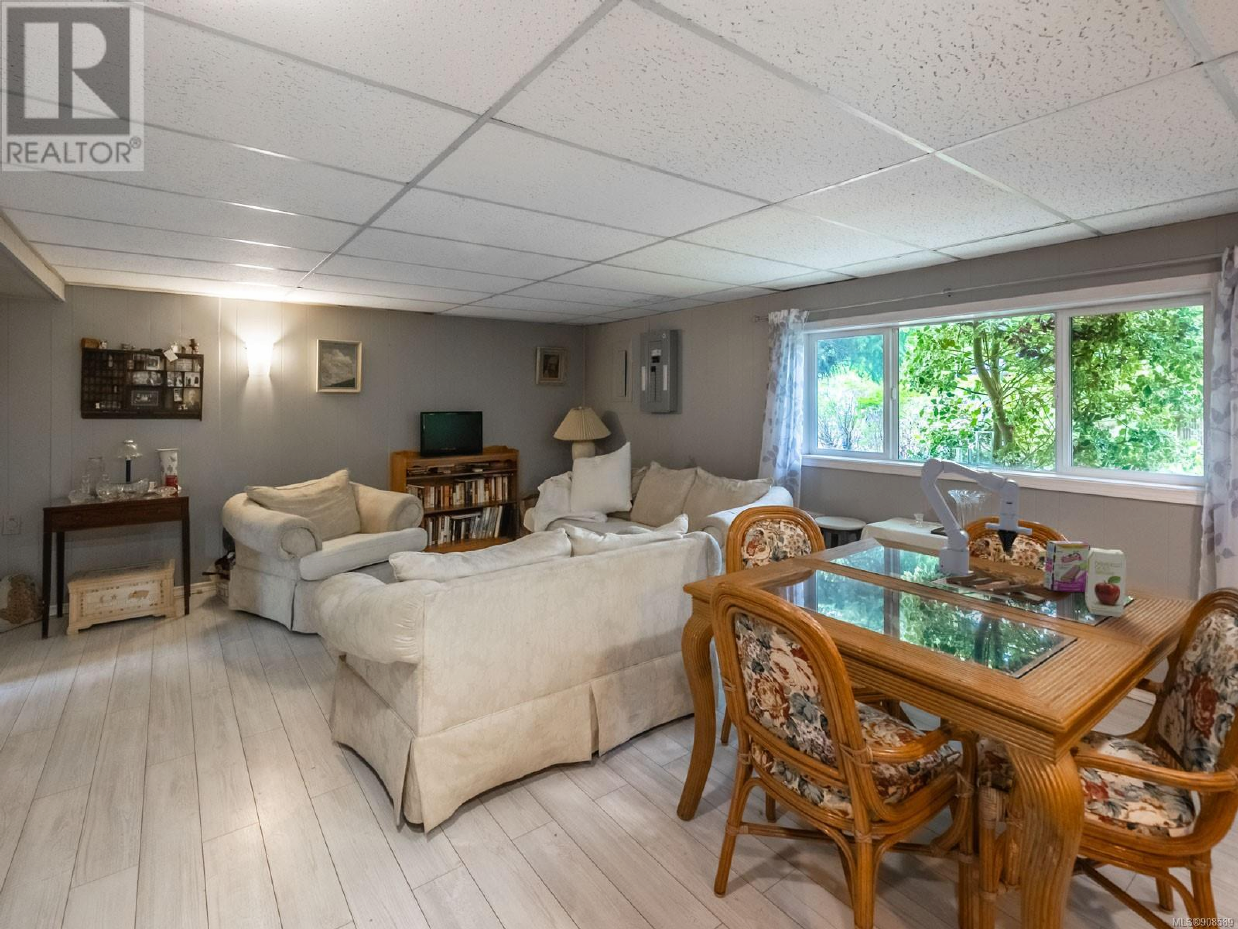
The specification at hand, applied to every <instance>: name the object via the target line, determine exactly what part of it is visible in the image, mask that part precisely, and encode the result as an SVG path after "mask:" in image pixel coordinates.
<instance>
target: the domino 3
mask: <svg viewBox="0 0 1238 929" xmlns="http://www.w3.org/2000/svg"><path fill="white" fill-rule="evenodd" d="M1008 586H1011V585H1010V583H1009V580H1003V581H993V582H992V583H989V584H986V585H976V587H977V590H987V589H1000V588H1005V587H1008Z"/></svg>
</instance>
